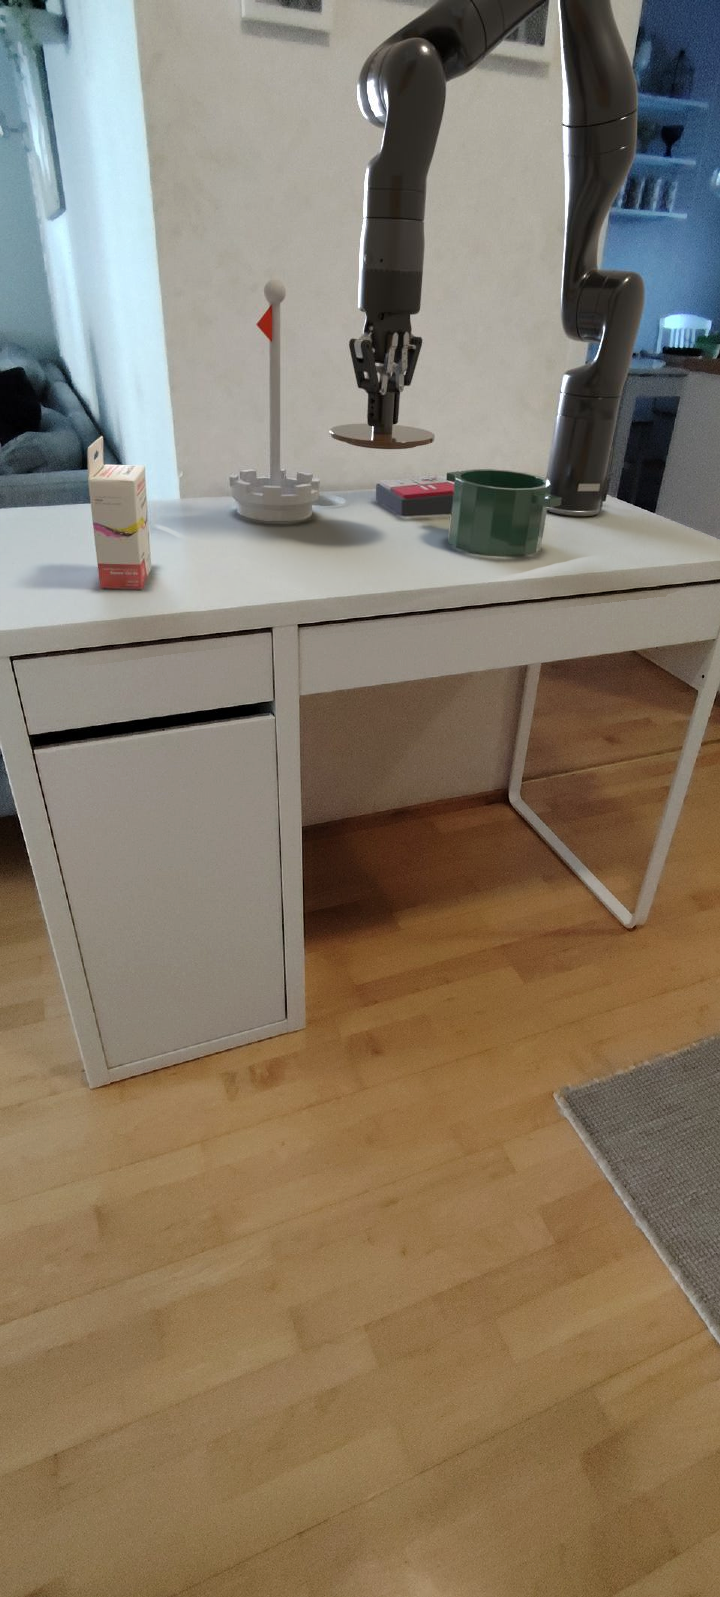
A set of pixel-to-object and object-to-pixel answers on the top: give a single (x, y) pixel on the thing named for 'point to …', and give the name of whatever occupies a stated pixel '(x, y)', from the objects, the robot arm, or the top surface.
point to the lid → (383, 432)
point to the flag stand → (274, 443)
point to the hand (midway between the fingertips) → (382, 424)
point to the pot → (498, 511)
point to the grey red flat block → (416, 495)
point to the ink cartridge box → (119, 521)
